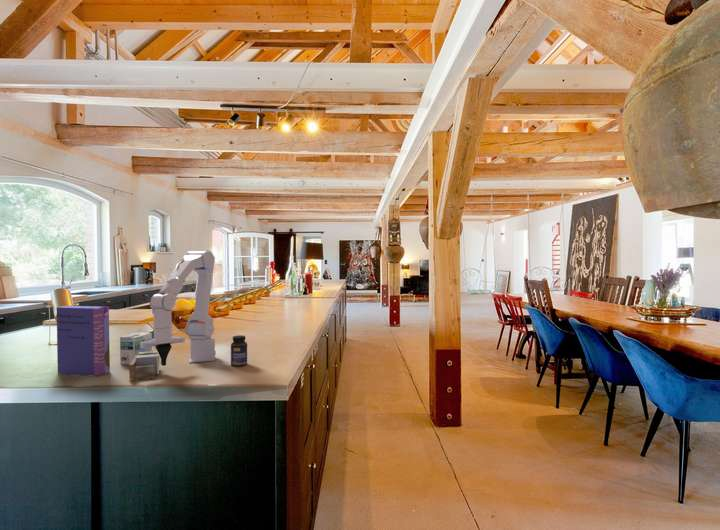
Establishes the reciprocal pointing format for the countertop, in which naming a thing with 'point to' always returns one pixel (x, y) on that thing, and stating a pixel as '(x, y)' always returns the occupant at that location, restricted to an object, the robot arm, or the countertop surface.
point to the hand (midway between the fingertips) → (163, 365)
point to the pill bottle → (239, 351)
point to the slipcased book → (149, 361)
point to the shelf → (141, 368)
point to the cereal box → (83, 340)
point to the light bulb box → (133, 346)
